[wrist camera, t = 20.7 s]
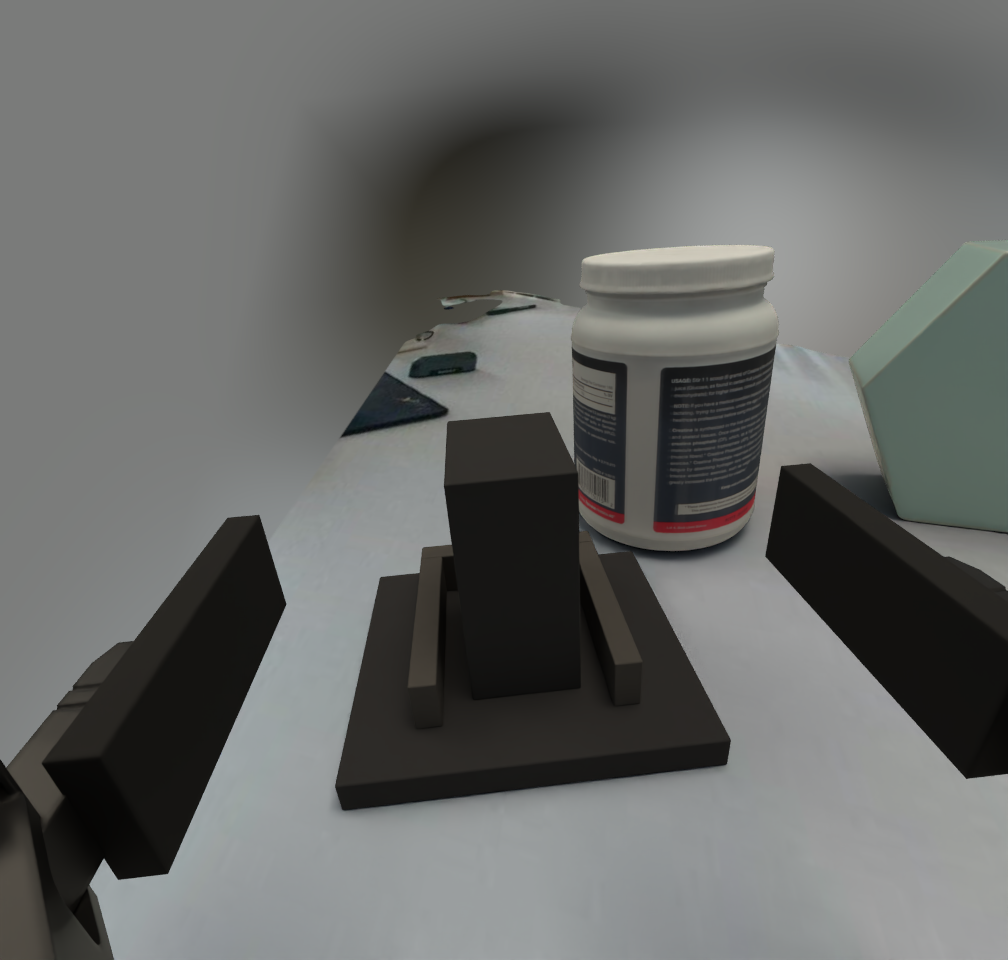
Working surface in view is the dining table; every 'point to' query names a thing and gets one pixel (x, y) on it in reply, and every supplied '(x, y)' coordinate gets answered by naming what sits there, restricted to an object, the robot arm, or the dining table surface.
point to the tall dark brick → (515, 553)
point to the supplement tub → (672, 392)
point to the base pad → (520, 696)
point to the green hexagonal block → (944, 393)
